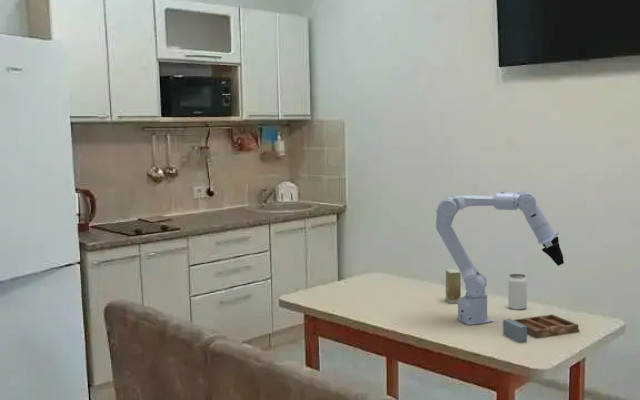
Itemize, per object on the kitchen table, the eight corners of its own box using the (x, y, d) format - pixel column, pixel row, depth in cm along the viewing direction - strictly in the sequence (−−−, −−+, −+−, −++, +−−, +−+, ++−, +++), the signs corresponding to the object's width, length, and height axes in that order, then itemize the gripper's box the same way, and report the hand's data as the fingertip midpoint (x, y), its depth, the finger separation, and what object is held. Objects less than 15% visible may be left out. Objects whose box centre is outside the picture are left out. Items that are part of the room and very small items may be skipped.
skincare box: (445, 299, 255) (444, 268, 253) (456, 299, 255) (455, 268, 254) (449, 304, 248) (449, 272, 247) (461, 303, 249) (460, 271, 247)
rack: (536, 338, 206) (536, 329, 205) (510, 326, 219) (510, 317, 219) (579, 331, 211) (579, 323, 210) (551, 320, 224) (551, 312, 224)
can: (527, 310, 237) (527, 277, 235) (509, 309, 238) (509, 277, 237) (525, 305, 243) (525, 273, 242) (507, 305, 244) (507, 273, 243)
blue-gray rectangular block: (519, 343, 202) (519, 327, 202) (503, 334, 211) (503, 319, 210) (526, 342, 203) (526, 326, 202) (509, 333, 211) (509, 318, 211)
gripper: (551, 223, 208) (573, 261, 207) (551, 216, 222) (571, 252, 221) (530, 233, 211) (552, 270, 210) (532, 226, 224) (552, 261, 223)
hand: (560, 261), depth 216 cm, fingers open, 7 cm apart
